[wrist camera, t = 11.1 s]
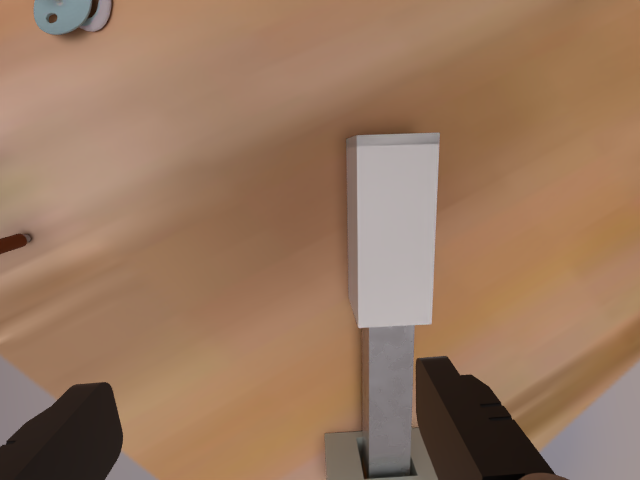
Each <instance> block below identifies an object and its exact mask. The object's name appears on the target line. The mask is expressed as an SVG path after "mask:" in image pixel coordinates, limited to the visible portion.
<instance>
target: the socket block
mask: <svg viewBox="0 0 640 480" xmlns="http://www.w3.org/2000/svg"><path fill="white" fill-rule="evenodd" d="M362 457H363V446H362V431H357V432H341V433H325V462H326V480H438V478H437V475H436V473H435V470H434V467H433V465H432V462H431V460H430V457H429V455H428V452H427V450H426V447H425V444H424V442H423V439H422V437H421V434H420V430H419V428H411V454H410V476H405V477H390V478H375V479H364V477H363V471H362Z"/></svg>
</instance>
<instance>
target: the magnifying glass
mask: <svg viewBox="0 0 640 480" xmlns="http://www.w3.org/2000/svg"><path fill="white" fill-rule="evenodd" d="M30 240H31V238H30V236H29V235H26V234H25V235H22V234H16V235H12V236H9V237H5V238H2V239H0V254H2V253H5V252H8V251H11V250H14V249H17V248H20V247H23V246H25V245H26V244H27V242H29V241H30Z"/></svg>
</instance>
